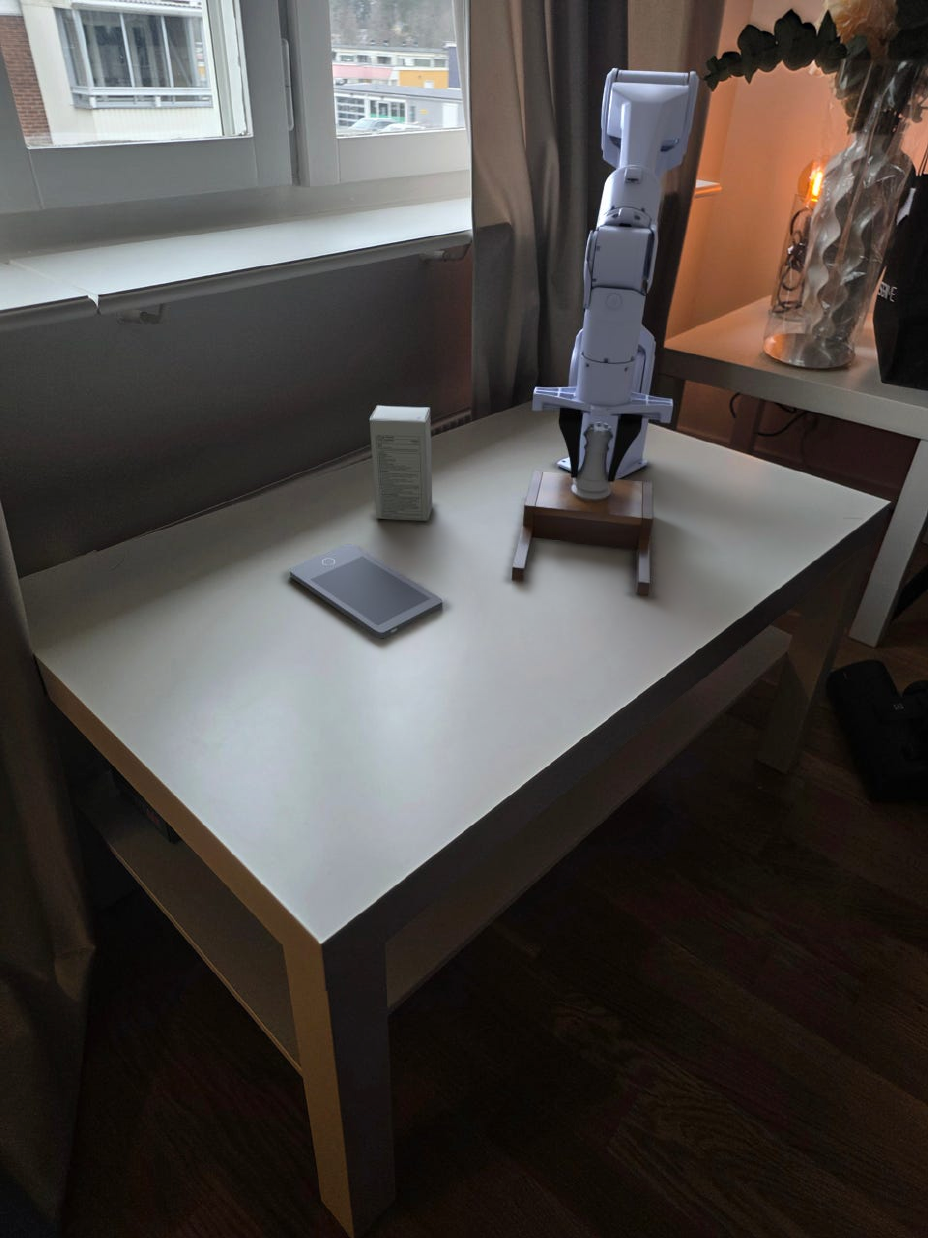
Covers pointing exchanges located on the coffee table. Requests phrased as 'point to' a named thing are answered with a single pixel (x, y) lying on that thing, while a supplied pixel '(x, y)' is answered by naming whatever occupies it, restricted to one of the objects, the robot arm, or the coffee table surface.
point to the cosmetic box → (402, 462)
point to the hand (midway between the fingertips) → (592, 476)
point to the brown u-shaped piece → (588, 519)
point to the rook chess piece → (594, 464)
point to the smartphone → (366, 590)
